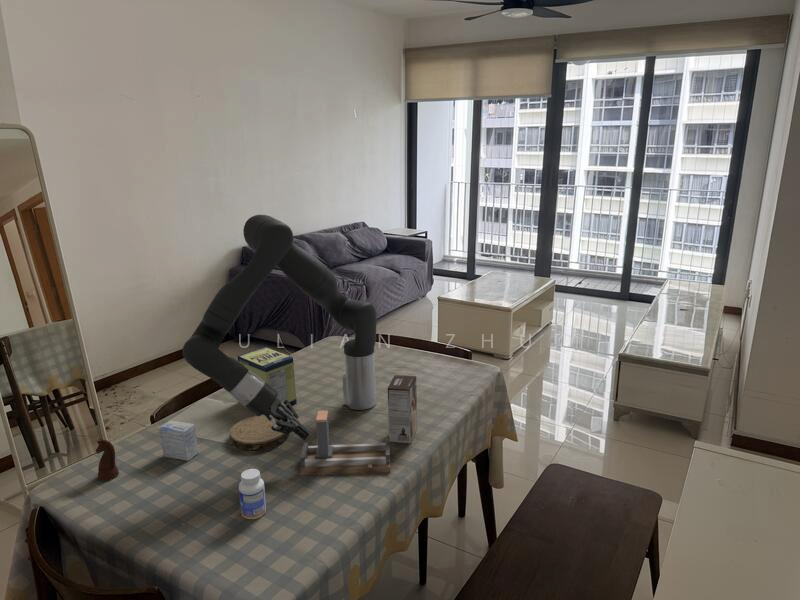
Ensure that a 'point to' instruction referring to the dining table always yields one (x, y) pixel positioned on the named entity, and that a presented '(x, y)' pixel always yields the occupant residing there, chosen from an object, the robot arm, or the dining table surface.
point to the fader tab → (323, 436)
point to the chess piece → (106, 461)
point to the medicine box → (179, 440)
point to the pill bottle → (252, 494)
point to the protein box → (273, 371)
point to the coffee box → (402, 408)
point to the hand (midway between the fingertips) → (307, 436)
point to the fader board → (347, 459)
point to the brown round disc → (256, 435)
